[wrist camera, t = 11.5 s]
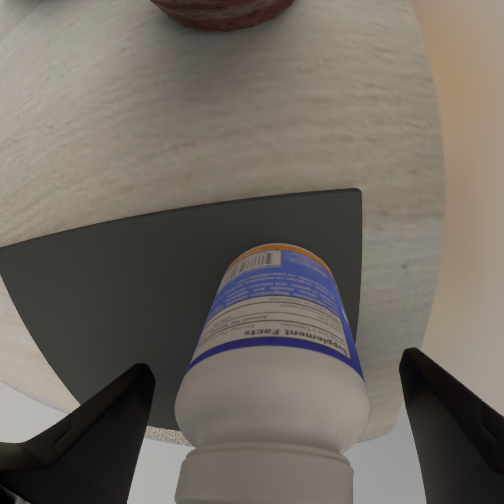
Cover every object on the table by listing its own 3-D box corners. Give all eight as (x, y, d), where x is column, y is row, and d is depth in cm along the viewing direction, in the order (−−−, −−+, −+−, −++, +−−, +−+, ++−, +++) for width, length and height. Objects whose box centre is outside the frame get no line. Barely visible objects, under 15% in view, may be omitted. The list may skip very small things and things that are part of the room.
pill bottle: (314, 344, 14) (327, 526, 5) (213, 324, 14) (157, 508, 5) (352, 253, 11) (442, 477, 2) (229, 226, 11) (119, 464, 2)
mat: (357, 187, 11) (361, 190, 10) (339, 426, 18) (339, 431, 18) (-4, 248, 14) (-9, 251, 14) (86, 405, 22) (83, 408, 21)
